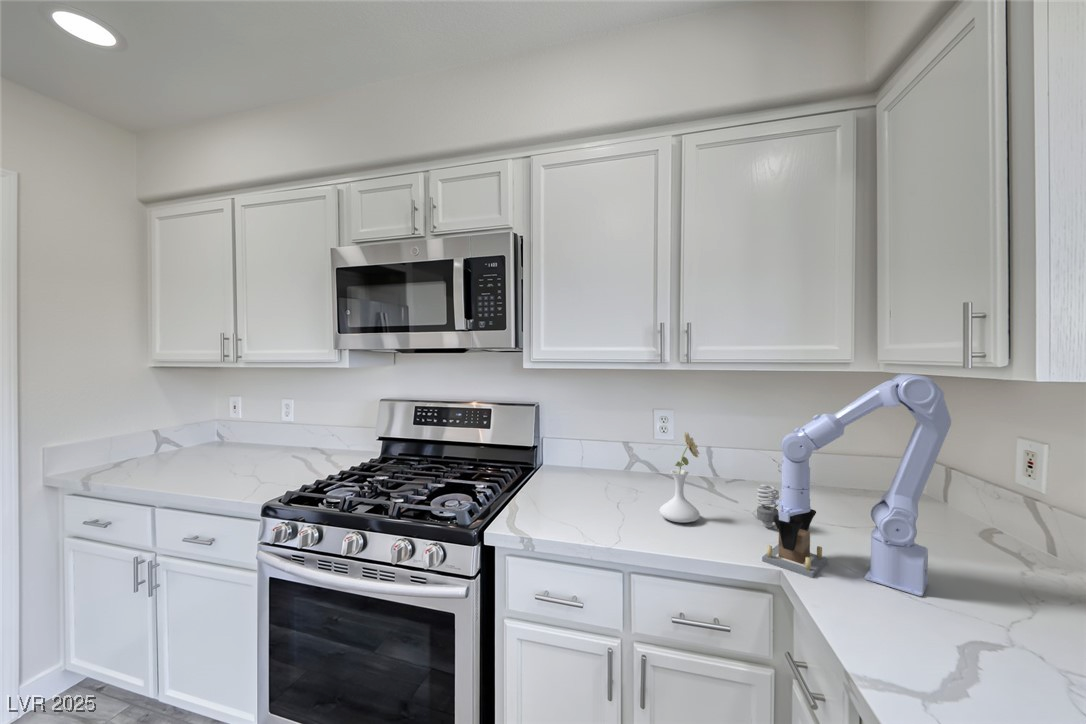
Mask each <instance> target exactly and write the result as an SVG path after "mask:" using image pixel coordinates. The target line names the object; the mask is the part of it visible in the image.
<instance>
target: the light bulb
mask: <svg viewBox="0 0 1086 724" xmlns="http://www.w3.org/2000/svg"><path fill="white" fill-rule="evenodd" d="M756 491H757V492H756V497H755V498H756V499H757V501H756V502H757V504H758V506H757V508H756V517H757V519H758V520H759V521H762V522H761V523H762V526H763V527H765V528H766V529H770V528H772V527H773V523H775V522H774V520H773V517H774V516H775V515H779V509H778V506H779V505H777V504H776V501H777V500H780V491H779V489H778V488H776V487H774V486H773V485H771V484H760V487H758V488H756Z"/></svg>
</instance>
